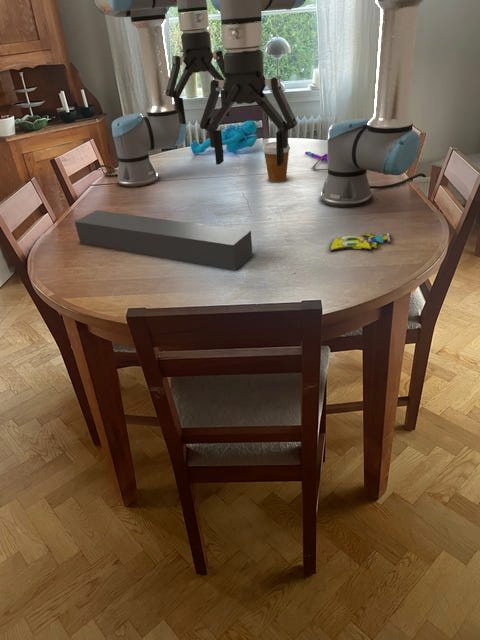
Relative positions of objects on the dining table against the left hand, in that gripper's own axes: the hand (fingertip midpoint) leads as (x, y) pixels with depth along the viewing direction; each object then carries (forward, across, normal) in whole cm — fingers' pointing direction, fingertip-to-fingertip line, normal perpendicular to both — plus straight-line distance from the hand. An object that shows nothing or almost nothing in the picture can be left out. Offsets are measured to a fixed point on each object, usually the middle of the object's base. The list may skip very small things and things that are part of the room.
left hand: (204, 119), depth 135 cm
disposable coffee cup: (+27, +32, +14) cm, 44 cm away
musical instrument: (+27, +56, +18) cm, 65 cm away
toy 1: (+27, +37, +63) cm, 78 cm away
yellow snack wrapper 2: (+27, +18, -46) cm, 56 cm away
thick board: (+27, -24, -15) cm, 39 cm away
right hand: (+3, -10, -40) cm, 42 cm away
